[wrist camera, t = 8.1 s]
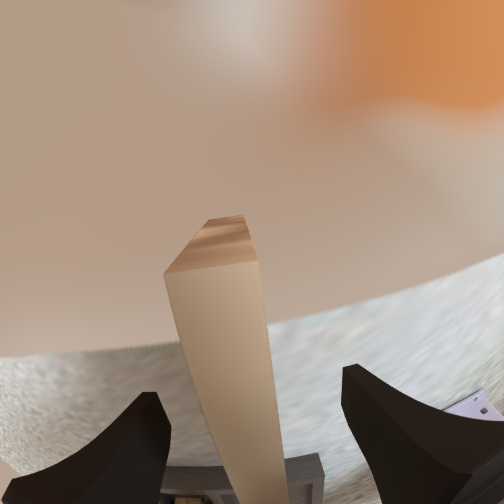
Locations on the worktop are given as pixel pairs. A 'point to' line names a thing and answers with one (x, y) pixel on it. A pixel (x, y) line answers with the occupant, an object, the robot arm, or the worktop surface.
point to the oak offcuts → (188, 501)
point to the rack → (222, 493)
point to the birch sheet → (230, 355)
